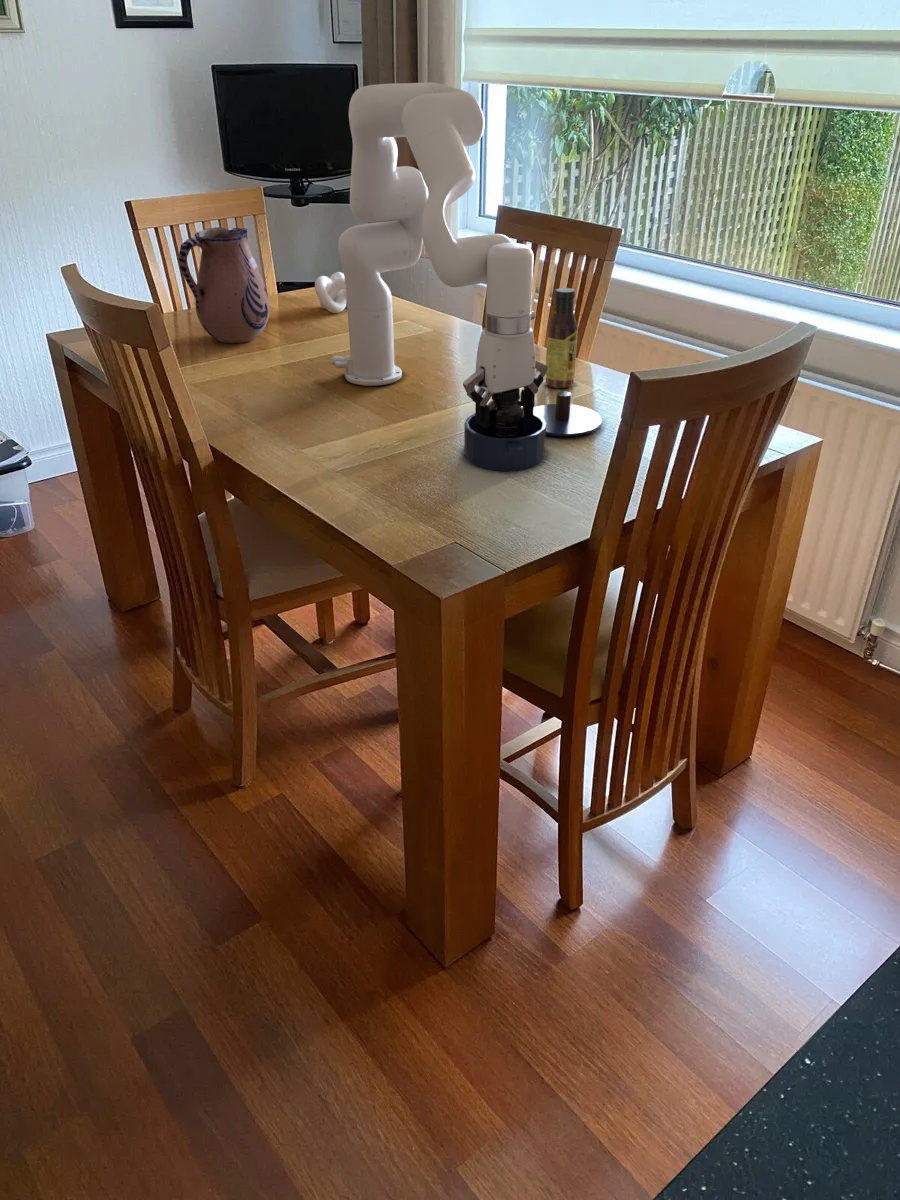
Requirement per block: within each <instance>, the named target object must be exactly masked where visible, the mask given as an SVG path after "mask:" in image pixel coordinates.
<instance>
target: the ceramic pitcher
mask: <svg viewBox="0 0 900 1200" xmlns="http://www.w3.org/2000/svg"><path fill="white" fill-rule="evenodd" d="M195 247H199V248H200V249H201V255H200V260H199V261H200V262H199V267H198V268H199V269H198V274H197V281H195V279H194V278H193V275H192V274H191V273H192V272H191V270H190V268H189V265H188V256H189V253H190V251H191V249H193V248H195ZM178 263H179V268H180V270H181V273H182V275H183V277H184V281H185V282H186V284H187V285H188V287H189V289H190V291H191V293H192V296H193V297H194V305H195V312H196V316H197V318H198V321H199V324H200V325H201V327H202V329H204V330H205V332H206V333H207V334H208V336H211V337H212V338H213V339H215V340H216V341H219V342H221V343H225V344H240V343H246V342H250V341H253V340H255V339H256V338H258V337H259V336H260V335H261V334H262V333H263V331H264V330H265V328H266V326H267V325H268V324H267V323H268V321H269V317H270V309H271V307H270V300H269V296H268V292H267V288H266V286H265V282H264V279H263V277H262V275H261V272H260V270H259V268H258V264H257V262H256V260H255V257H254V256H253V254H252V251H251V248H250V245H249V242H248V228H244V227H243V228H240V227H233V228H232V229H227V228H225V227H221V226H220V227H219V226H218V227H217V226H216V227H207V228H204V229H203V230H199V231H196V232H195V233H194V237H190V238H188V239H186V240H184V242H182V243H181V244H180V248H179V252H178Z"/></svg>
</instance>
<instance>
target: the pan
mask: <svg viewBox="0 0 900 1200" xmlns="http://www.w3.org/2000/svg"><path fill="white" fill-rule="evenodd" d="M463 428H464V429H463V430H464V434H463V435H464V442H463V443H464V444H463V445H464V451H463V452H464V456H465V459H466V460H467V461H468V462H469V463H470V464H472V465H474V466H476V467H478V468H481V469H484V470H487V471H488V470H489V471H495V472H517V471H522V470H527V469H531V468H533V467H535V466H537V465H539V464H540V463H541V462H542V461H543V460H544V458H545V451H546V437H547V434H546V423H545V421H544V419H543V418H541V417H540V416H538V415H536V414H534V413H533V416H529V415H527V414H525V413H524V437H519V438H495V437H488V436H486V428H485V427H483V426H481V425H480V424H478V423H477V422H476V419H475V412H474V413H472V414H471V415H469V416H468V417H466V419H465V422H464V427H463Z"/></svg>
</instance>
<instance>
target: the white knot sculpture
mask: <svg viewBox="0 0 900 1200" xmlns="http://www.w3.org/2000/svg"><path fill="white" fill-rule="evenodd" d="M314 290H315V294H316V296H317V298H318V301H319V305H320V307H321V308H323V309H325V310H327V311H328V312H330V313H332V314H339V313H341V312H343V311H344V310H345V309H346V308H347V295H346V285H345V278H344V272H340V271H337V272H336V271H335V272H334V273H332V274H331V275H330V276H329V277H328V276H325V275H320V276H318V277H317V278H316V280H315V282H314Z"/></svg>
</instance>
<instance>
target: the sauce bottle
mask: <svg viewBox="0 0 900 1200" xmlns="http://www.w3.org/2000/svg"><path fill="white" fill-rule="evenodd" d="M575 297H576V290H575V289H574V288H569V287H561V288H560V287H559V288H556V289H555V292H554V298H555V307H554V313H553V315H552V316H551V317H550V319H549V322H548V327H547V328H548V330H547V331H548V332H547V333H548V334H547V338H546V339H547V341H546V355H545V356H546V357H545V358H546V359H545V365H547V366H548V369H547V371H546V374H545V384H546V385H547V387H550V388H555V389H565V388H569V387H570V388H571V386H573V384H574V379H575V377H576V376H575V373H576V361H577V347H578V333H579V332H578V331H579V329H578V324H577V321H576V317H575V313H574V303H575V300H574V299H575Z"/></svg>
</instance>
